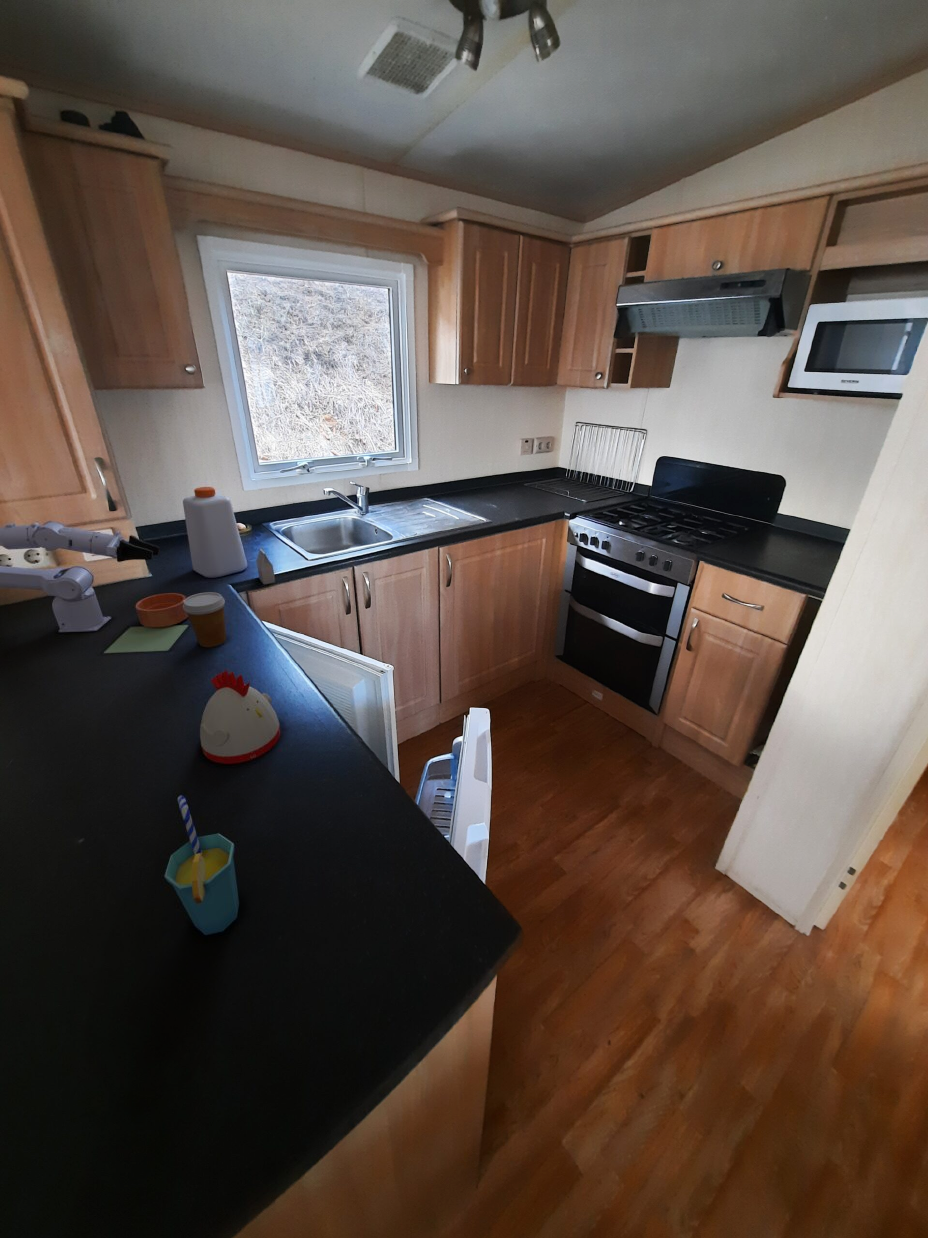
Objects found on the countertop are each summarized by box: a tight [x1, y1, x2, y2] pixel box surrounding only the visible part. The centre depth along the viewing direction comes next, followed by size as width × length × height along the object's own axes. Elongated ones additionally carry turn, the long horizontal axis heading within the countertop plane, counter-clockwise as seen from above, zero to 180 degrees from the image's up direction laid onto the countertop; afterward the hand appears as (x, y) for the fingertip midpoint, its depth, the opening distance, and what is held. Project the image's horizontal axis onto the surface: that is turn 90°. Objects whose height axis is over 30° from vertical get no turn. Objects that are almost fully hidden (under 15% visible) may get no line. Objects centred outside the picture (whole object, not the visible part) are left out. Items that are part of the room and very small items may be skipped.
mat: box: [103, 624, 189, 654], centre depth 131 cm, size 15×14×1 cm
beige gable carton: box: [255, 548, 276, 585], centre depth 166 cm, size 4×7×10 cm, turn 32°
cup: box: [163, 795, 240, 936], centre depth 63 cm, size 14×8×15 cm, turn 37°
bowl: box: [135, 592, 189, 628], centre depth 140 cm, size 12×12×6 cm
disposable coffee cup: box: [183, 591, 227, 648], centre depth 128 cm, size 10×10×12 cm
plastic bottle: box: [182, 486, 248, 579], centre depth 170 cm, size 15×15×28 cm
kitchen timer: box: [199, 669, 282, 765], centre depth 94 cm, size 14×14×15 cm
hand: (155, 553), depth 134 cm, fingers open, 7 cm apart
